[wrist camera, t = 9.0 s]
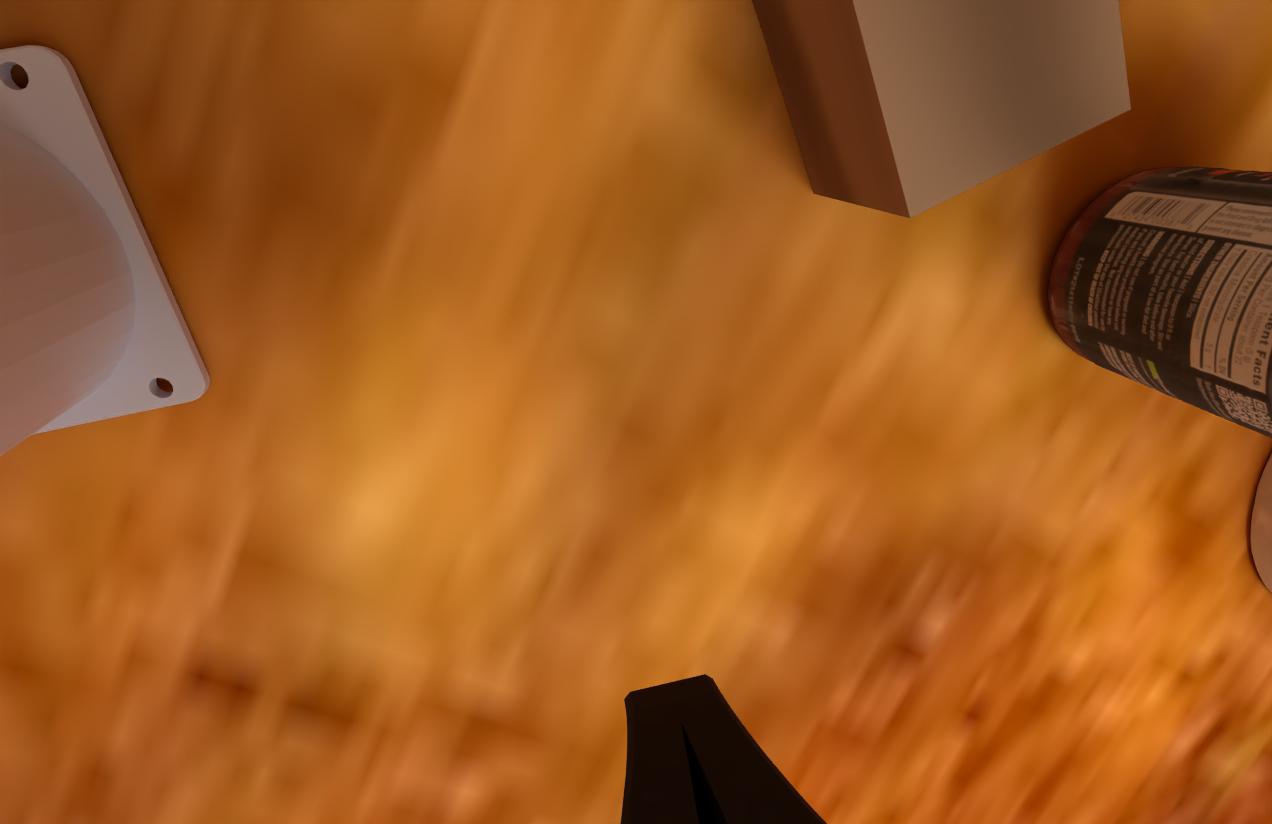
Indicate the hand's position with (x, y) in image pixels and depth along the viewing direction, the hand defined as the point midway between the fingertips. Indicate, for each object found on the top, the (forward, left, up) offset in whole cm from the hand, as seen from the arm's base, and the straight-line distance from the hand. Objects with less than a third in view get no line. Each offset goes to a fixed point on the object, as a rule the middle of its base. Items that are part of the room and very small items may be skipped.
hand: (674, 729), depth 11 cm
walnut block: (+9, +9, -11) cm, 16 cm away
